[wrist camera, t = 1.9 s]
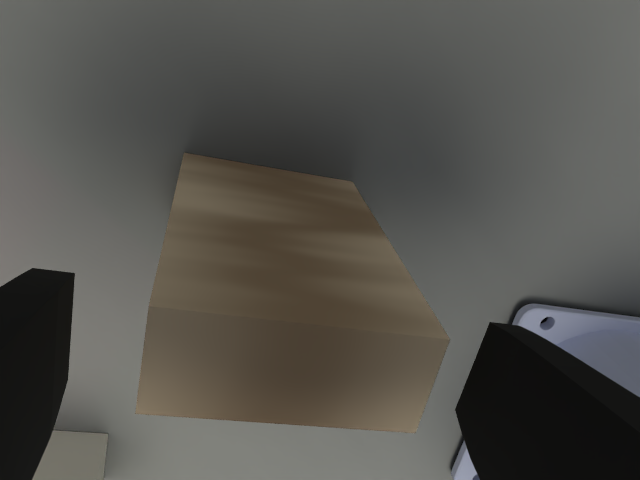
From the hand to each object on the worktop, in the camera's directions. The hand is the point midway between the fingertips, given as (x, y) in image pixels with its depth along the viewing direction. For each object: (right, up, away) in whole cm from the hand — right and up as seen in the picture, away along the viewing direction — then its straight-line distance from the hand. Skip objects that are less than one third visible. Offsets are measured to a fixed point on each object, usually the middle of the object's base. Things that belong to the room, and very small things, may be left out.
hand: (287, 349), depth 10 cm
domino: (-1, +3, +7) cm, 7 cm away
